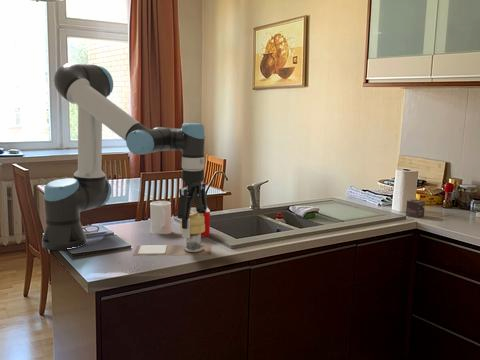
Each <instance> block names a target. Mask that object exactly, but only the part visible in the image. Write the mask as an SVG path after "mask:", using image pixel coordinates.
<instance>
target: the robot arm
mask: <svg viewBox="0 0 480 360" xmlns="http://www.w3.org/2000/svg"><path fill="white" fill-rule="evenodd" d="M53 83H54V87H55V90H56V91H57V92H58V94H59V95H60V96H61V97H62V98H63V99H65V100H66V101H67V102H69V103H70V104H72V105H77V170H76V171H75V172H74V173H73V177H71V178H69V177H68V178H67V177H65V178H61V179H60V178H59V179H55V180H51V181H49V182H48V183H46V184H45V186H44V189H43V190H44V193H43V198H44V200H43V201H44V211H45V228H44V232H43V235H42V238H41V247H42V248H43V249H45V250H48V251H67V250H66V249H67V248H72V247H78V246H81V245H83V244H85V243H86V244H87V236H86V233H85V231H84V227H83V225H82V223H81V213H82V212H84V211H88V210H92V209H97V208H100V207H102V206H104V205H106V204H107V203H108V202H109V200H110V199H111V195H112V185H111V183H110V181H109V179H108V178H107V177H106V173H105V172H104V171H103V170H102V162H103V161H102V159H103V158H102V154H103V153H102V151H103V148H102V147H103V146H102V145H103V126H105V127H107V128H108V129H109V130H111V131H112V132H114V133H115V134H116V135H117V136H119V137H120V138H121V139H123V141H125V142H126V143H125V144H126V146H127V149H128V151H129V152H130V153H132V154H134V155H147V154H153V153H157V152H164V151H179V152H181V168H182V169H181V180H182V182H184V187H183V188H179V189H178V191H179V199H178V208H177V209H178V210H177V218H178V219H180V220H181V219H182V232H181V238H185V239H186V238H190V219H188V218H189V214H190V209H191V208H192V204H193V202H194V205H195V208H196V210H197V212H198V214H201V215H203V213H206V209H207V208H208V205H207V193H206V185H207V184H206V183H205V182H204V180H205V170H204V168H205V162H206V161H205V140H206V139H205V138H206V136H205V126H204V124H203V123H197V122H183V123H182V125H181V128H173V127H166V126H162V127H161V126H158V127H154V128H152V129H151V128H148V127H146V126H145V125H143V124H142V123H141V122H139V121H138V120H137V119H135V118H134V117H133V116H132V115H130V114H129V113H127V112H126V111H125V110H123V108H121V107H119V105H117V104H115V103H114V102H113V101H112V100H110V99H108V98H107V97H109V96H110V95H111V93H112V92H113V90H114V80H113V77H112V75H111V73H110V72H109V71H108V69H106V68H105V67H104V66H101V65H96V64H85V63H76V62H70V63H69V62H68V63H65V64H62V65H61V66H59V67H58V69H57V70H56V72H55V73H54V77H53ZM86 244H85V245H86ZM83 246H84V245H83ZM81 247H82V246H81ZM78 248H79V247H78Z"/></svg>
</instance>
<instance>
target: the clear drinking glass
mask: <svg viewBox="0 0 480 360" xmlns="http://www.w3.org/2000/svg"><path fill="white" fill-rule="evenodd" d="M185 239H186V240H185V245H186V246H184V247H183V250H184V251H185V252H188V253H198V252H202V251H203V250H204V247H203V246H202V245H203V244H202V243H201V242H202V236H201V233H200V234H190V238H185Z"/></svg>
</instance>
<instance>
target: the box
mask: <svg viewBox="0 0 480 360" xmlns="http://www.w3.org/2000/svg"><path fill="white" fill-rule="evenodd" d="M425 203H426V200H421V199H420V200H419V199H415V198H413V199H407V200H406V206H405V207H406V209H405V216H406V217H410V218H411V217H412V218H415V219H419V218H423V217H425V208H426V207H425V205H426V204H425Z"/></svg>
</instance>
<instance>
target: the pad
mask: <svg viewBox="0 0 480 360" xmlns="http://www.w3.org/2000/svg"><path fill="white" fill-rule="evenodd" d="M167 245H168V244H151V245H149V244H147V245H146V244H143V245H142V244H141V245H140V246H141V247H140V250H139V252H138V255H152V254H165V252H166V248H167Z"/></svg>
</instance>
